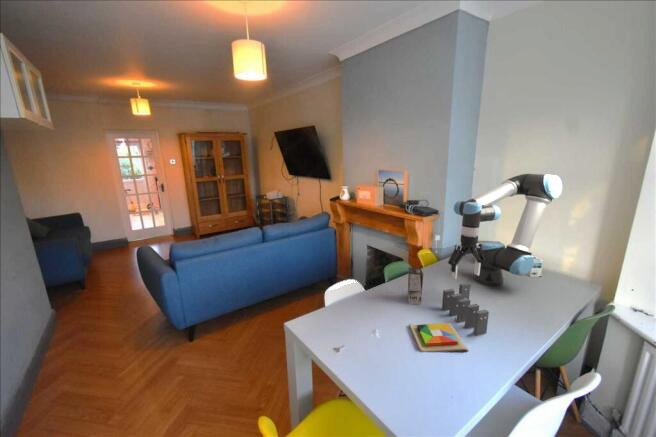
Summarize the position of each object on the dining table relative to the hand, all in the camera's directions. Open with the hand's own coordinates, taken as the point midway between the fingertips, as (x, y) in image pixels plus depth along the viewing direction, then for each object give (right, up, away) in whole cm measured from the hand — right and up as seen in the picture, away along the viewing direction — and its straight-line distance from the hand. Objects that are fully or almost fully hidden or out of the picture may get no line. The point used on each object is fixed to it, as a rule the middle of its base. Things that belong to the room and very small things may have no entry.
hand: (465, 276), depth 141 cm
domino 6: (-4, -19, -22) cm, 30 cm away
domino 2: (-9, -16, -8) cm, 20 cm away
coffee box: (-23, -14, +6) cm, 28 cm away
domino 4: (-7, -17, -12) cm, 23 cm away
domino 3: (0, -14, +3) cm, 14 cm away
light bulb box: (+57, -6, +36) cm, 68 cm away
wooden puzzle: (-23, -21, -24) cm, 40 cm away
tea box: (+41, -2, +54) cm, 68 cm away
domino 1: (-10, -15, -3) cm, 19 cm away
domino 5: (-6, -18, -17) cm, 26 cm away
